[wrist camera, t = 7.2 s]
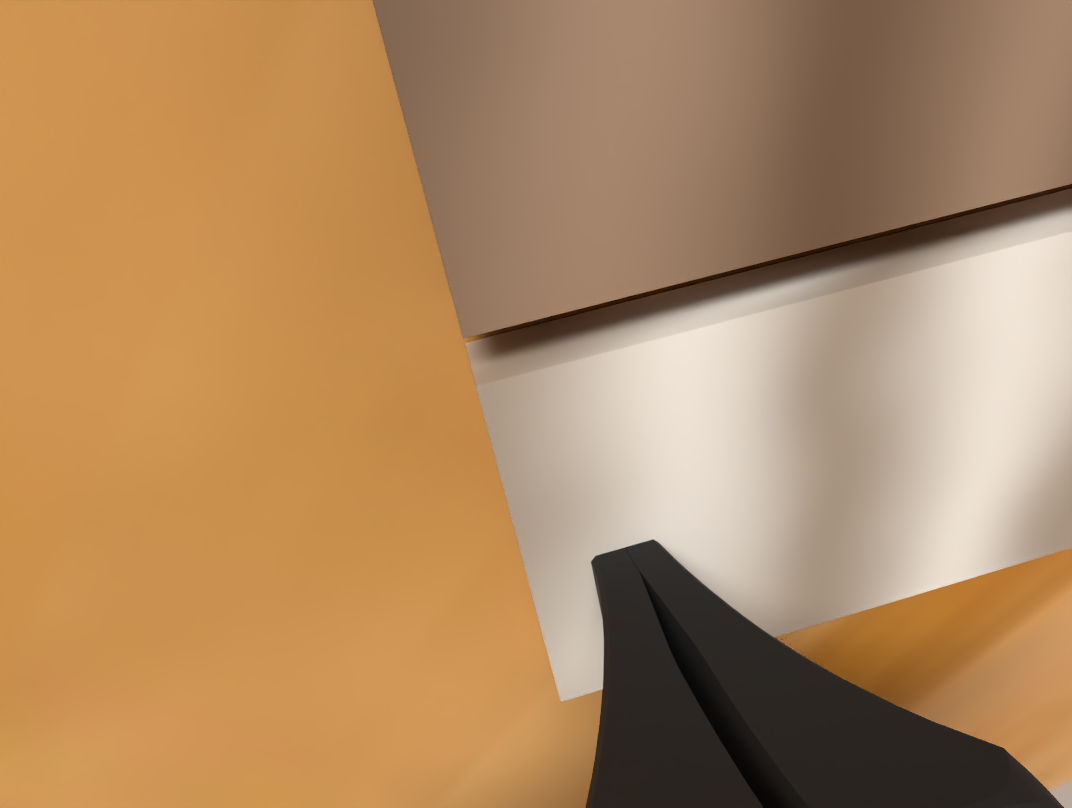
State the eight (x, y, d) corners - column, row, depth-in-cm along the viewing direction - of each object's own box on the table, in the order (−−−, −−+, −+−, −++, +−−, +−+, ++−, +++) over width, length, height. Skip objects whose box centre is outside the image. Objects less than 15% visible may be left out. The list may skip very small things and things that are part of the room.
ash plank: (1122, 175, 13) (1231, 189, 12) (1051, 485, 17) (1126, 531, 15) (465, 343, 12) (476, 386, 11) (543, 634, 16) (560, 701, 14)
